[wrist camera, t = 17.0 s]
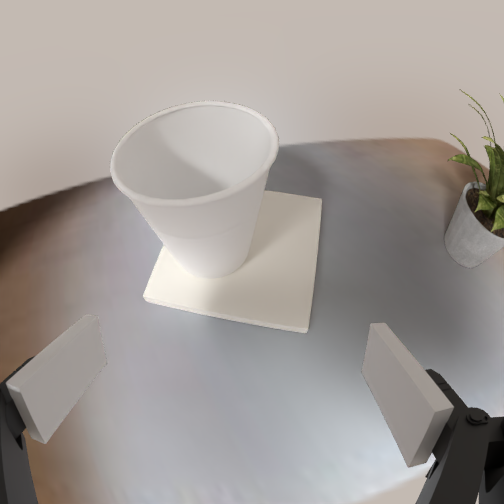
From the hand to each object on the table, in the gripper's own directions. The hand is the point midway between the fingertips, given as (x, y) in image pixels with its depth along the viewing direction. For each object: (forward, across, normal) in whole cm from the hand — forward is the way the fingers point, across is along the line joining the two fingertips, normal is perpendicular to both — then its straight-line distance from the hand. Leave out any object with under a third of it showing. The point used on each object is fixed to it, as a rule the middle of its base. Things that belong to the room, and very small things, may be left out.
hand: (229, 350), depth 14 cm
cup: (+13, -2, +2) cm, 13 cm away
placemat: (+14, 0, +2) cm, 14 cm away
